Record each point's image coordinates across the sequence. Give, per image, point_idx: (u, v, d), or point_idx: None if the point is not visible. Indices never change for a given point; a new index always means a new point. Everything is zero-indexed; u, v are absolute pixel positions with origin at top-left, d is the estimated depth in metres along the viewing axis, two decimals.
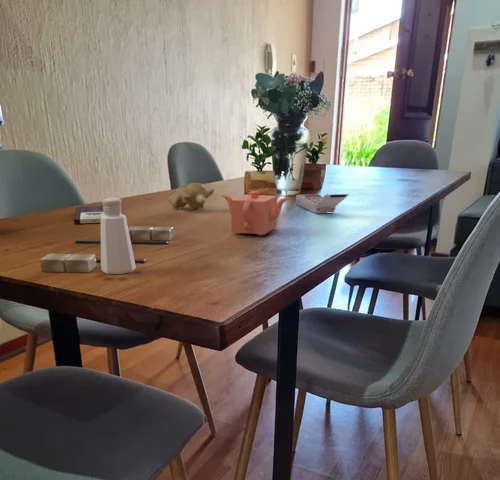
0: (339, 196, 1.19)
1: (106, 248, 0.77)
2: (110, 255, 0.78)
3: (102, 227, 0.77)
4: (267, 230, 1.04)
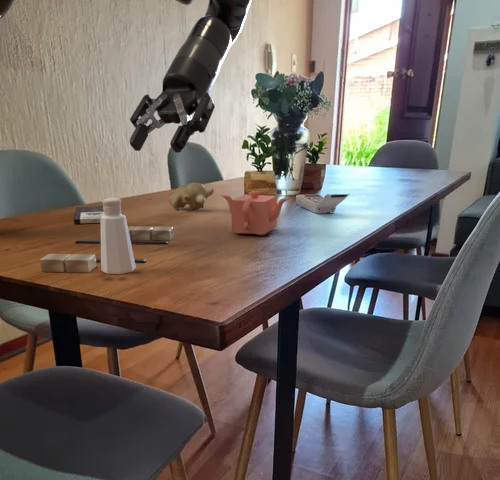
0: (340, 196, 1.19)
1: (106, 248, 0.77)
2: (110, 255, 0.78)
3: (102, 227, 0.77)
4: (267, 230, 1.04)
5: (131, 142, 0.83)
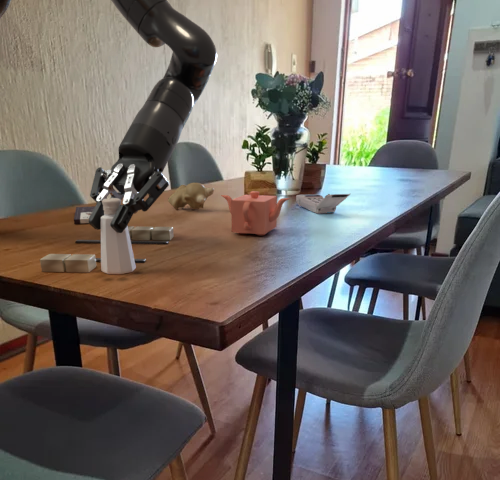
0: (340, 196, 1.19)
1: (106, 248, 0.77)
2: (110, 255, 0.78)
3: (102, 227, 0.77)
4: (267, 230, 1.04)
5: (90, 222, 0.77)
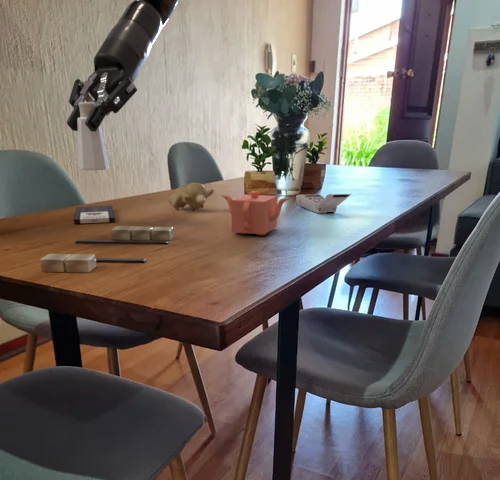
0: (341, 196, 1.20)
1: (82, 146, 0.88)
2: (86, 152, 0.89)
3: (78, 127, 0.88)
4: (267, 230, 1.04)
5: (68, 122, 0.88)
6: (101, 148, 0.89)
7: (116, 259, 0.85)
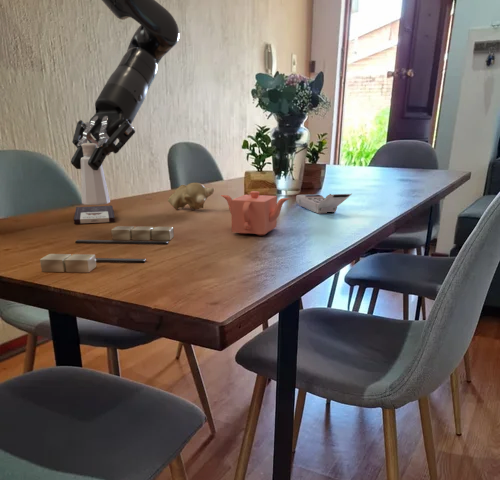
0: (342, 196, 1.20)
1: (85, 183, 0.97)
2: (89, 189, 0.97)
3: (82, 166, 0.96)
4: (267, 230, 1.04)
5: (72, 162, 0.96)
6: (102, 185, 0.98)
7: (116, 259, 0.85)
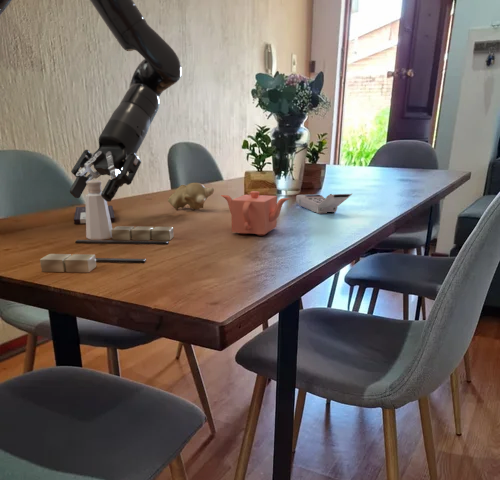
0: (342, 196, 1.20)
1: (90, 219, 0.99)
2: (93, 224, 1.00)
3: (86, 203, 0.99)
4: (267, 230, 1.04)
5: (71, 191, 1.00)
6: (106, 220, 1.00)
7: (116, 259, 0.85)
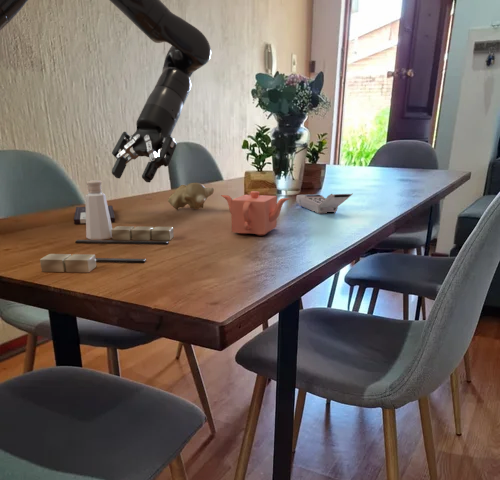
0: (343, 196, 1.20)
1: (90, 219, 0.99)
2: (93, 224, 1.00)
3: (86, 203, 0.99)
4: (267, 230, 1.04)
5: (113, 172, 1.09)
6: (106, 220, 1.00)
7: (116, 259, 0.85)
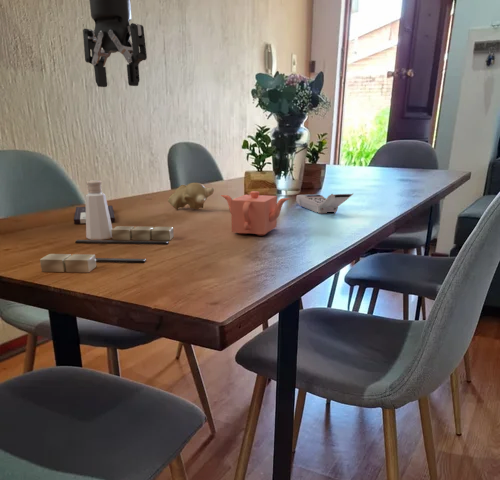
0: (343, 196, 1.20)
1: (90, 219, 0.99)
2: (93, 224, 1.00)
3: (86, 203, 0.99)
4: (267, 230, 1.04)
5: (98, 85, 1.04)
6: (106, 220, 1.00)
7: (116, 259, 0.85)
